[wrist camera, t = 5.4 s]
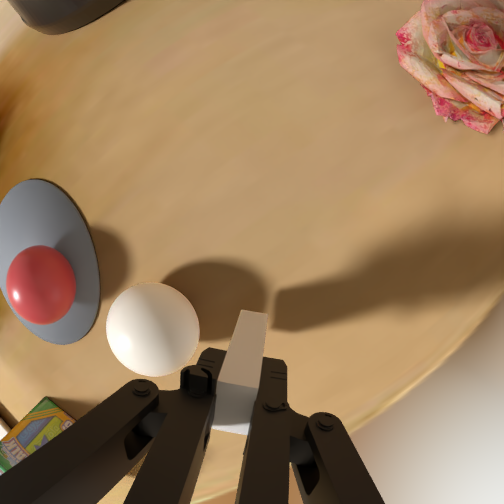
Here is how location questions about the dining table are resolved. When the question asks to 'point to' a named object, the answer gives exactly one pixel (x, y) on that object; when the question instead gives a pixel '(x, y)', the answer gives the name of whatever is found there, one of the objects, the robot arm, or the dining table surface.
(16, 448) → the chalk box
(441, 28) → the flower
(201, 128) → the dining table surface
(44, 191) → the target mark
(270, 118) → the dining table surface
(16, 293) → the red ball
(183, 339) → the cue ball
